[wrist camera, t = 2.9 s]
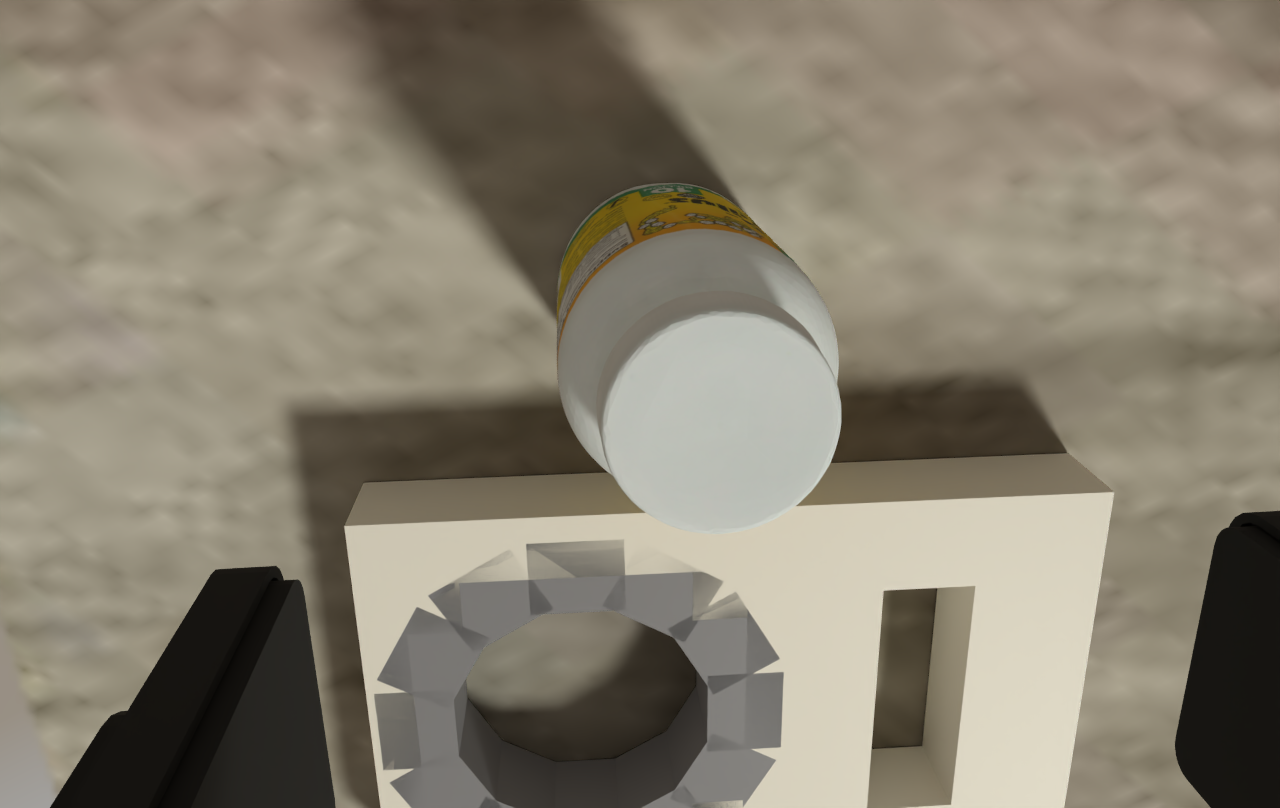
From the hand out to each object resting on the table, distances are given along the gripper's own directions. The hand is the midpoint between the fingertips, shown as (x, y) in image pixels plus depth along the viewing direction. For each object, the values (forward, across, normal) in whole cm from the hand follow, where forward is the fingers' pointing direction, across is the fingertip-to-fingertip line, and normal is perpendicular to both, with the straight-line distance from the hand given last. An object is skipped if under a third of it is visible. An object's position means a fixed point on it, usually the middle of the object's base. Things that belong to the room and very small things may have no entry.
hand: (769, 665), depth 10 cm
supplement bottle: (+16, -1, 0) cm, 16 cm away
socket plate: (+16, -2, +11) cm, 20 cm away
